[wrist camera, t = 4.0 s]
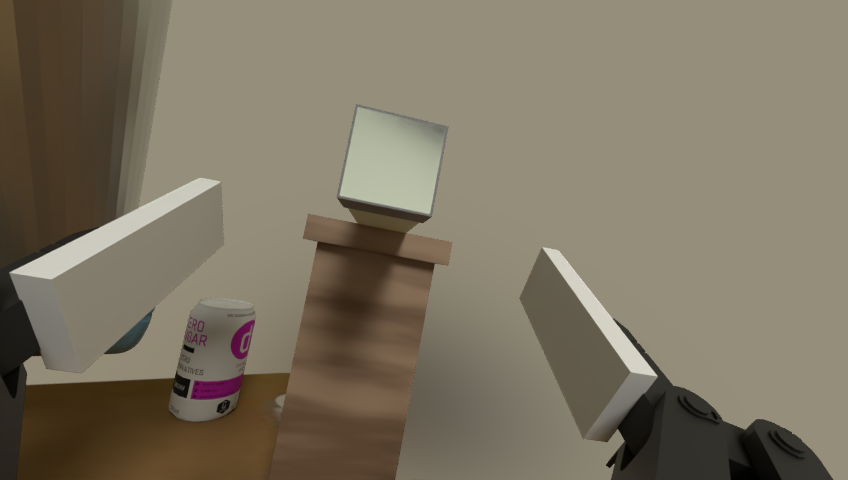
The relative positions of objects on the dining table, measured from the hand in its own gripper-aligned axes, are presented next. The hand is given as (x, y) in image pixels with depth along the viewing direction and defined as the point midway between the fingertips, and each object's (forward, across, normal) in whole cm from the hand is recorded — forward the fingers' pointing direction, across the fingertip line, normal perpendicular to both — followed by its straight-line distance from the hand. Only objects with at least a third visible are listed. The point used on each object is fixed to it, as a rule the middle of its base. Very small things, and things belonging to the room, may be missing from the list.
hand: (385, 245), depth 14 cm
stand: (+7, 0, -35) cm, 35 cm away
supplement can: (+19, -20, -42) cm, 50 cm away
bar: (+14, 0, -6) cm, 16 cm away
